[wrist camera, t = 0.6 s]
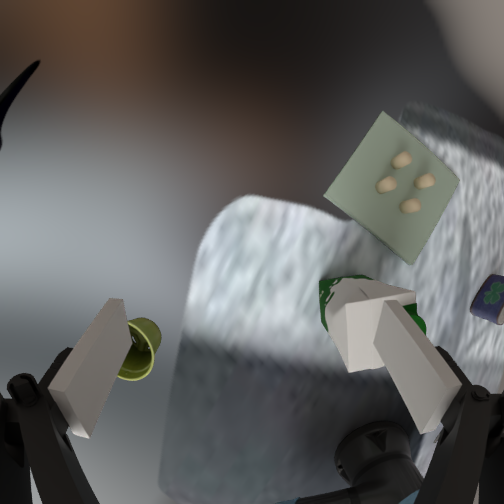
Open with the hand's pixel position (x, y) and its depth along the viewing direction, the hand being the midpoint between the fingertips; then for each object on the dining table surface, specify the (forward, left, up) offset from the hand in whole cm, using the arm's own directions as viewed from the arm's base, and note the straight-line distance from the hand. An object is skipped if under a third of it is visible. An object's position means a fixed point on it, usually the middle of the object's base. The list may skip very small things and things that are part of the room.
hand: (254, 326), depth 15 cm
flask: (-37, -20, -32) cm, 53 cm away
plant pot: (+9, +21, -32) cm, 39 cm away
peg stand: (-10, -23, -32) cm, 41 cm away
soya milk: (-13, -3, -32) cm, 35 cm away
